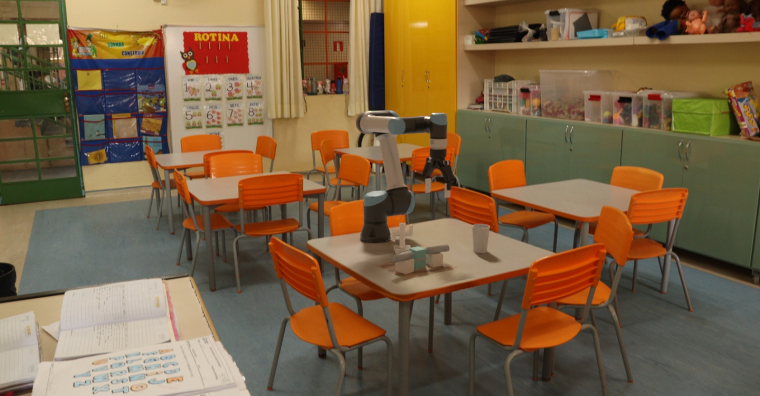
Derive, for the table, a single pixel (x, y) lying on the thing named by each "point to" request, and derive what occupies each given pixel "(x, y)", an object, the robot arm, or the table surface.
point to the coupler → (418, 257)
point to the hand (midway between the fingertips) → (437, 194)
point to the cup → (480, 237)
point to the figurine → (402, 238)
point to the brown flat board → (418, 272)
